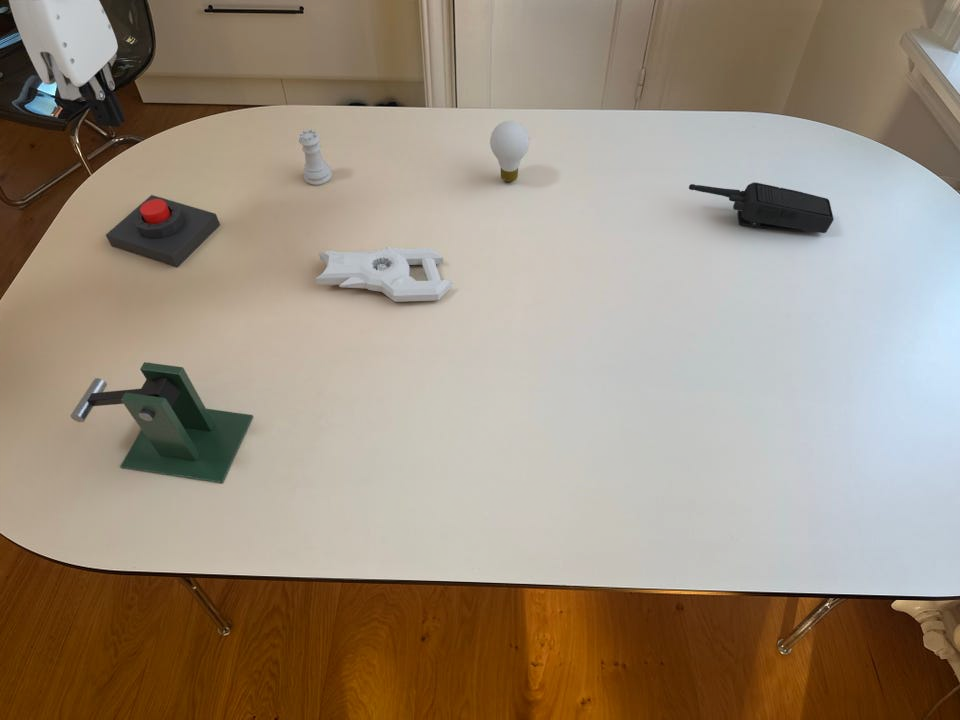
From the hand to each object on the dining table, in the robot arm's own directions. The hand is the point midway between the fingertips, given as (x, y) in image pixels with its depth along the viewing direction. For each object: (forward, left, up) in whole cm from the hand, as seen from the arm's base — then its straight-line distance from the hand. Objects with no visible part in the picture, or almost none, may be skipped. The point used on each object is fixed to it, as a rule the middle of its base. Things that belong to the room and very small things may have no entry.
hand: (112, 122), depth 90 cm
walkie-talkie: (+86, -9, -19) cm, 89 cm away
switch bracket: (+9, -38, -19) cm, 43 cm away
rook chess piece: (+22, +11, -19) cm, 31 cm away
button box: (0, 0, -19) cm, 19 cm away
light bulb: (+52, +6, -19) cm, 56 cm away
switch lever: (+5, -37, -11) cm, 39 cm away
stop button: (0, 0, -15) cm, 15 cm away
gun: (+32, -14, -19) cm, 40 cm away
